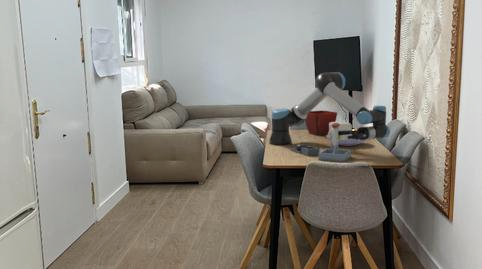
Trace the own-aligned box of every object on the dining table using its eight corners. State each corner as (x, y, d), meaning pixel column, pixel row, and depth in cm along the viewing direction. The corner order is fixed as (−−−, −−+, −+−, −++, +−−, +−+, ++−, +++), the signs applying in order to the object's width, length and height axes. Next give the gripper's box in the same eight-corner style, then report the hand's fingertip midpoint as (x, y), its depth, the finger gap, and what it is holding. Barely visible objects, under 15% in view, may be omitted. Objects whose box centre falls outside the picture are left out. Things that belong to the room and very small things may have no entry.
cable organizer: (330, 139, 340) (330, 123, 338) (328, 137, 350) (329, 121, 348) (351, 139, 338) (351, 123, 336) (349, 137, 348) (350, 121, 347)
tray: (318, 159, 272) (318, 152, 271) (326, 155, 285) (326, 148, 285) (344, 162, 265) (344, 154, 265) (351, 157, 278) (351, 150, 278)
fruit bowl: (337, 139, 339) (337, 124, 337) (373, 143, 322) (374, 126, 320) (317, 145, 317) (317, 128, 315) (354, 149, 300) (355, 132, 298)
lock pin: (329, 157, 274) (329, 124, 271) (332, 155, 278) (332, 122, 275) (338, 157, 272) (338, 124, 269) (340, 156, 276) (340, 123, 273)
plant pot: (302, 133, 372) (302, 111, 369) (323, 131, 380) (323, 110, 377) (316, 136, 355) (316, 113, 352) (337, 134, 363) (337, 112, 360)
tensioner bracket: (290, 150, 301) (290, 144, 300) (303, 149, 304) (303, 143, 304) (307, 156, 283) (307, 149, 282) (320, 154, 286) (320, 148, 286)
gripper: (379, 142, 270) (348, 145, 262) (352, 136, 293) (323, 139, 285) (379, 129, 269) (348, 132, 261) (353, 124, 292) (323, 126, 284)
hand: (335, 135), depth 273 cm, fingers open, 13 cm apart
